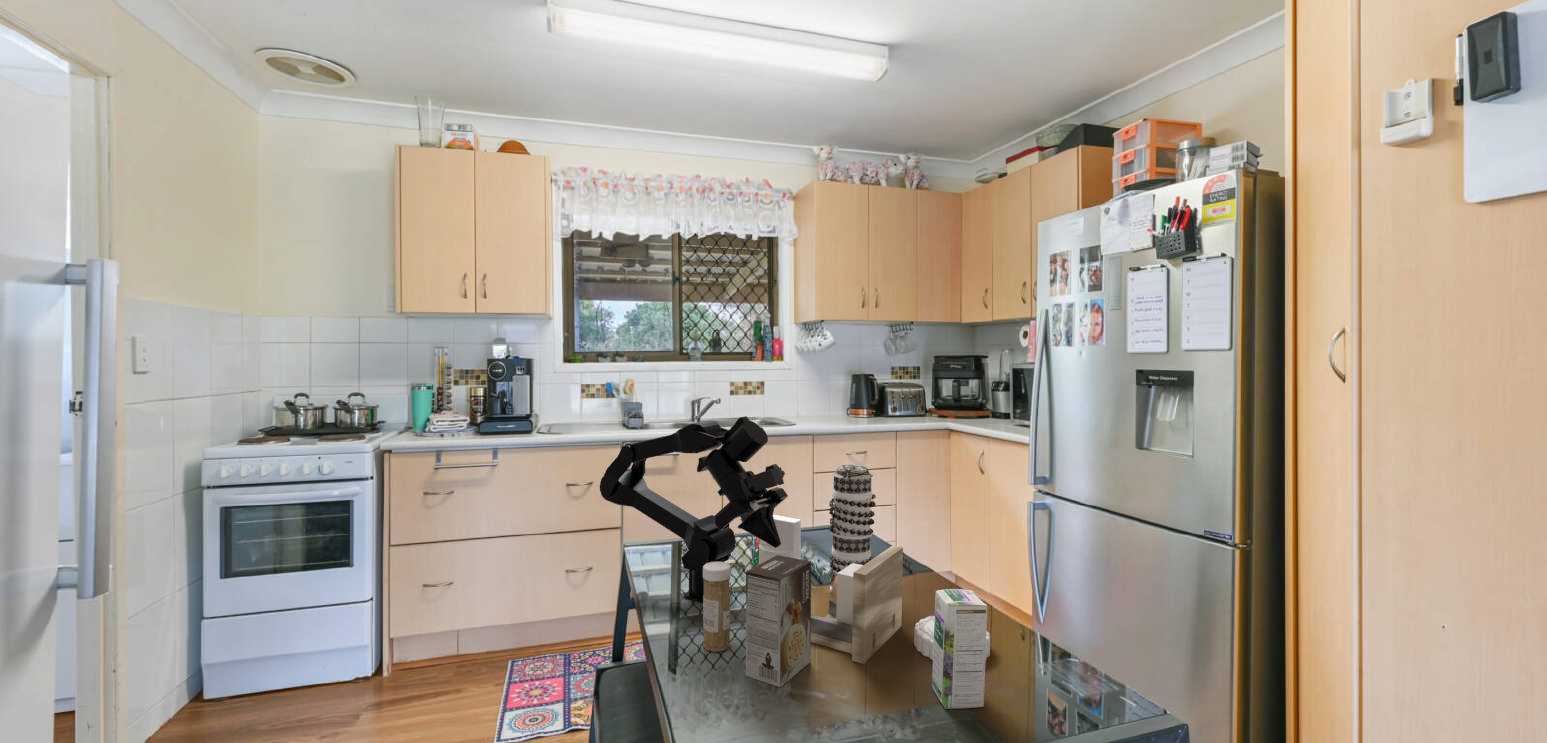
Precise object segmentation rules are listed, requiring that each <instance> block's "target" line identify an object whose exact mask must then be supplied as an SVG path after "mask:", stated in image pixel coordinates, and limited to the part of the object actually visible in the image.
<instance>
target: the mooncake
mask: <svg viewBox="0 0 1547 743" xmlns="http://www.w3.org/2000/svg"><path fill="white" fill-rule="evenodd" d="M934 621H935V615H929V616H926V617H925V618H921V619H920V620H918V622H916V623H915V626H914V630H913V631H914V632H913V633H914V635H913V636H914V639H913V642H914V643H913V644H914V645H913V646H915V648H916V650H917V651H918V652H919V653H921V655H922V656H924V657H927V658H929V659H930V660H932V661H933V645H934ZM990 655H991V634H990V632H989V631H987V634H986V660H987V659H988V658H989V657H990Z"/></svg>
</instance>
